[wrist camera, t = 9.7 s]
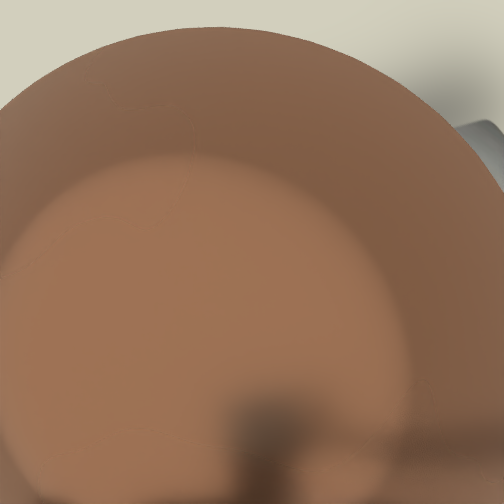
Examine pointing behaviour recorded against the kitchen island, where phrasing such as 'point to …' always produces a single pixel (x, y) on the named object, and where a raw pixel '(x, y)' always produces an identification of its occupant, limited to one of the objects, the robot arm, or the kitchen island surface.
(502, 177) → the kitchen island surface
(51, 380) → the pin
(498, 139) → the kitchen island surface
